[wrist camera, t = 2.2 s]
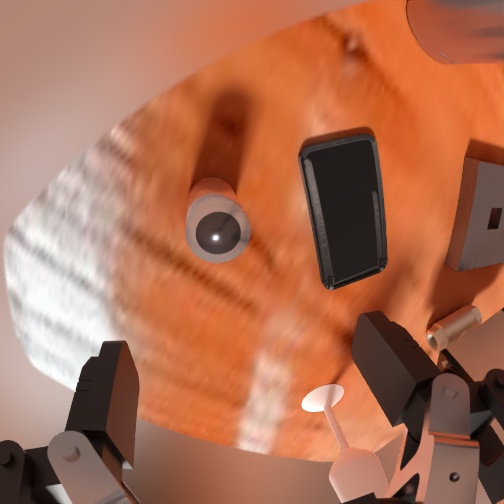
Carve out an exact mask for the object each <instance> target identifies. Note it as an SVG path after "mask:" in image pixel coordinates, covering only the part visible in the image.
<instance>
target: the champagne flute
mask: <svg viewBox="0 0 504 504" xmlns="http://www.w3.org/2000/svg"><path fill="white" fill-rule="evenodd" d="M343 393H344V389H343V387H342V386H340V385H338V384H328V385H324V386H321V387H318V388H316V389H314V390H313V391H311V392H310V393H309V394H308V395H306V397H305V398H304V399H303V401H302V407H303V409H304V410H306V411H309V412H317V411H324V412H325V414H326V416H327V419H328V421H329V423H330V426H331V428H332V430H333V433H334V435H335V437H336V440H337V442H338V444H339V446H340V449H341V451H342V452H341V453H340V454H339V455H338V456H337V458H336V460H335V462H334V463H333V465H332V467H331V470H330V474H329V480H330V482H331V484H332V485H333V487H334V489H335V491H336V493H337V495H338V497H339V499H340V501H341V503H344V502H347V501H350V500H353V499H356V498H358V497H361V496H364V495H367V494H369V493H372V492H374V494H375V496H376V498H384V495H385V492H386V490H387V488H388V486H389V485H388V482H387V479H386V476H385V474H384V471H383V468H382V465H381V462H380V460H379V458H378V456H377V455H375V454H374V453H372V452H370V451H367V450H363V449H358V448H350V447H349V445H348V443H347V440H346V438H345V436H344V434H343V432H342V429H341V427H340V425H339V423H338V421H337V418H336V416H335V414H334V412H333V410H332V406H333V405H335V404H336V403H337V402H338V401H339V400H340V399H341V397H342V396H343Z"/></svg>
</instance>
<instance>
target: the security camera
mask: <svg viewBox="0 0 504 504" xmlns="http://www.w3.org/2000/svg"><path fill="white" fill-rule="evenodd" d="M481 321H482V316H481V313H480V311H479V309H478V308H477V307H476V306H473V305H469V306H463V307H462V308H460V309H458V310H457V311H455V312H453V313H452V314H450V315H449V316H447V317H445V318H443V319H442V320H440V321H438V322H437V323H435V324H433V325H432V328H431V329H429V330H427V334H426V340H427V343H428V345H429V347H430V349H431V350H432V351H433V352H435V353H439V358H438V363H437V367H438V369H439V370H440V371H441V372H442V373H443V374H447V373H449V374H454V375H457V376H459V377H460V378H462V379H463V380H464V381H465V382H466V383H467V382H476V381H483V379H484V377H485V376H486V374H487V372H488V371H489V370H491V369H495V368H498V369H502V370H504V308H502V309H501V310H500V311H498V312H497V313H496V314H494V315H493V316H492V317H490V318H489V319H488V320H486V321H485V322H484V323H482V324H481ZM480 324H481V325H480Z"/></svg>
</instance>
